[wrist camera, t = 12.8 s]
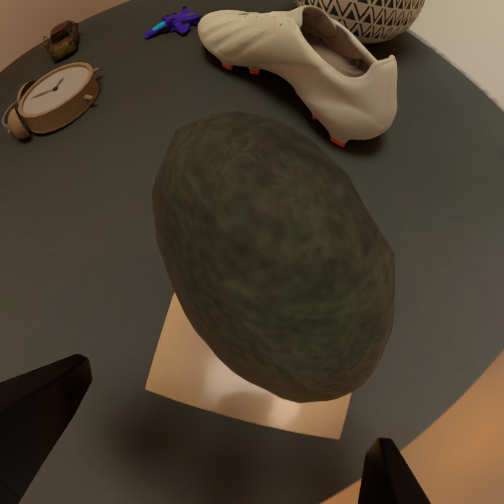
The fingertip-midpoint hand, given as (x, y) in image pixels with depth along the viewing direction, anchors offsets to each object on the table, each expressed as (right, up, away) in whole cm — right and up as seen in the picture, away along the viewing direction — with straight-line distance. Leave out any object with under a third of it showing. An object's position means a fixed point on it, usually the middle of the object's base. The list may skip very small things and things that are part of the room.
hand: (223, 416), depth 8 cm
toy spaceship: (-12, +40, +32) cm, 52 cm away
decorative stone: (+2, +1, +11) cm, 11 cm away
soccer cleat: (+4, +24, +24) cm, 35 cm away
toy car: (-34, +42, +34) cm, 64 cm away
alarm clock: (-26, +24, +26) cm, 44 cm away
